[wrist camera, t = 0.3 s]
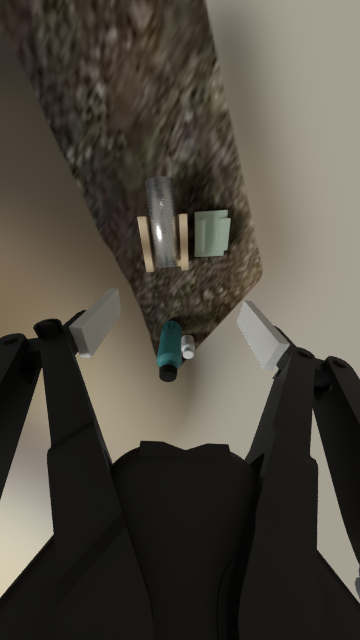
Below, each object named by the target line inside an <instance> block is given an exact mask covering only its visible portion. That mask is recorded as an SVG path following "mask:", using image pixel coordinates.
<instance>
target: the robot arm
mask: <svg viewBox="0 0 360 640" xmlns="http://www.w3.org/2000/svg"><path fill="white" fill-rule="evenodd" d="M120 314H121V307H120V300H119V292H118V289H112V288H110V289H109V290H108V291H107V292H106V293H105V294H104V295H103V296H102V297H101V298H99V299H98V300H97V301H96V302H95V303H94V304H93V305H92V306H91V307H90V308H89V309H88V310H83V311H81V312H78V313H77V314H76V315H75V316H74V317H72V318H71V319H70V320H69V321H68V322H66V323H65V324H64V325H63V326H62V323H61V321H60V320H58V319H47V320H43V321H41V322H38V323H37V324H35V325H34V327H33V329H34V330H35V332H36V334H37V336H38V338H33V339H27V338H26V337H25V335H23V334H20V333H16V334H9V335H6V336H4V337H2V338H0V499H1V496H2V492H3V489H4V486H5V483H6V479H7V476H8V473H9V470H10V467H11V463H12V460H13V457H14V454H15V451H16V448H17V444H18V441H19V438H20V435H21V432H22V428H23V425H24V422H25V419H26V415H27V413H28V409H29V406H30V403H31V400H32V396H33V393H34V390H35V387H36V384H37V380H38V377H39V374H40V371H41V368H43V377H44V385H45V394H46V403H47V411H48V420H49V428H50V437H51V448H50V449H49V450H48V453H47V465H48V476H49V487H50V497H51V509H52V520H53V531H54V534H53V536H52V537H51V538H50V539H49V540H48V542H47V543H46V544H45V545H44V546H43V548H42V549H41V550H40V551H39V552H38V554H37V555H36V556H35V557H34V558H33V560H32V561H31V562H30V563H29V564H28V565H27V567H26V568H25V569H24V570H23V571H22V573H21V574H20V575H19V576H18V577H17V579H16V580H15V581H14V582H13V583H12V585H11V586H10V587H9V588H8V589H7V590H6V592H5V593H4V594H3V595H2V596H1V598H0V640H360V603H359V602H358V601H357V599H356V598H355V597H354V596H353V595H352V593H351V592H350V591H349V589H348V588H347V587H346V586H345V584H344V583H343V582H342V580H341V579H340V578H339V577H338V575H337V574H336V573H335V572H334V570H333V569H332V568H331V566H330V565H329V564H328V563H327V561H326V560H325V559H324V558H323V556H322V555H321V554H320V553H319V551H318V550H317V510H318V508H317V507H318V464H317V462H316V460H315V459H313V458H312V457H311V456H310V441H311V425H312V408H313V411H314V414H315V418H316V422H317V426H318V429H319V433H320V437H321V441H322V444H323V448H324V452H325V455H326V459H327V463H328V467H329V470H330V474H331V478H332V482H333V485H334V489H335V493H336V497H337V500H338V504H339V508H340V511H341V515H342V518H343V522H344V525H345V528H346V531H347V534H348V537H349V540H350V542H351V545H352V548H353V550H354V553H355V556H356V558H357V560H358V563H359V565H360V379H359V377H358V376H357V374H356V373H355V371H354V370H353V368H352V367H351V366H350V365H349V364H348V363H347V362H345V361H344V360H342V359H339V358H337V357H333V356H329V357H327V358H326V360H325V361H324V360H320V359H317V358H315V357H314V355H313V354H312V353H311V352H309V351H307V350H305V349H303V348H299V347H296V346H295V345H294V344H293V343H292V342H291V340H290V339H289V338H288V337H287V336H286V335H285V334H284V333H283V332H282V331H281V330H280V329H279V328H277V327H276V326H273V325H272V324H271V322H269V320H268V319H267V318H266V317H265V316H264V315H263V314H262V312H261V311H260V310H259V309H258V308H257V307H256V306H255V305H254V304H253V303H252V301H244V303H243V306H242V308H241V311H240V314H239V316H238V319H237V324H238V326H239V328H240V329H241V331H242V333H243V335H244V337H245V338H246V340H247V342H248V344H249V345H250V347H251V349H252V351H253V352H254V354H255V356H256V358H257V359H258V361H259V363H260V365H261V366H262V369H264V370H273V369H274V367H275V366H276V365H277V367H278V368H279V370H278V371H277V373H276V374H275V376H274V377H273V379H274V382H273V385H272V387H271V391H270V393H269V396H268V399H267V402H266V405H265V408H264V411H263V413H262V416H261V420H260V422H259V425H258V428H257V431H256V434H255V437H254V440H253V442H252V445H251V449H250V451H249V453H248V455H247V456H246V458H245V460H243V459H242V458H241V457H239V456H238V455H236V454H234V453H232V452H230V449H229V445H228V444H204V445H201V446H198V447H195V448H191V449H188V450H183V449H180V448H178V447H175V446H173V445H170V444H167V443H165V442H159V441H141V442H140V447H138V448H135V449H133V450H131V451H129V452H127V453H125V454H124V455H123V456H121V457H120V458H119V459H118V460H117V461H115V463H112V461H111V458H110V455H109V452H108V450H107V447H106V444H105V442H104V439H103V436H102V433H101V430H100V427H99V424H98V421H97V418H96V415H95V412H94V409H93V407H92V404H91V401H90V398H89V395H88V392H87V389H86V386H85V383H84V380H83V377H82V374H81V371H80V369H79V366H78V363H77V360H76V357H75V355H76V354H77V352H79V355H80V357H87V358H91V357H92V356H93V354H94V353H95V351H96V350H97V348H98V347H99V345H100V343H101V342H102V341H103V339H104V338H105V336H106V335H107V333H108V332H109V330H110V329H111V327H112V326H113V324H114V323H115V321H116V320H117V318H118V317H119V315H120ZM359 576H360V567H359ZM355 586H356V590H357V593H358V595H359V598H360V577H359V578H356V581H355Z"/></svg>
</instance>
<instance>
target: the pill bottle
mask: <svg viewBox="0 0 360 640" xmlns="http://www.w3.org/2000/svg"><path fill="white" fill-rule="evenodd" d="M181 342H182V343H181V350H182V352H183V357H184V358H186V359H190V358H192V357H193V356H194V350H195V346H194V339H193V337H192V336H191V335H184V336H183V337H182V339H181Z"/></svg>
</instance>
